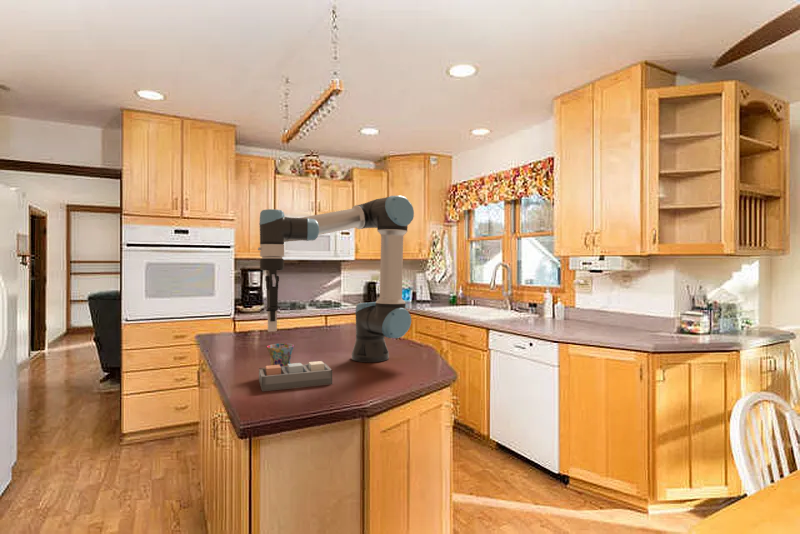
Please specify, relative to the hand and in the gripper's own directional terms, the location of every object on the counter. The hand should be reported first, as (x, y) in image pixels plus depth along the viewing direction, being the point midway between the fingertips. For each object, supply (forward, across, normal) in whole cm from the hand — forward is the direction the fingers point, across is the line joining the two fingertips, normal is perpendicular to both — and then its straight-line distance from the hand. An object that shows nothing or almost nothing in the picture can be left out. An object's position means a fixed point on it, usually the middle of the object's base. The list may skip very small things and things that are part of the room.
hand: (272, 331), depth 148 cm
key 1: (+14, 0, 0) cm, 14 cm away
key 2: (+14, 0, +14) cm, 20 cm away
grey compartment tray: (+18, 0, +7) cm, 19 cm away
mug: (+18, -13, +4) cm, 22 cm away
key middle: (+14, 0, +7) cm, 16 cm away
